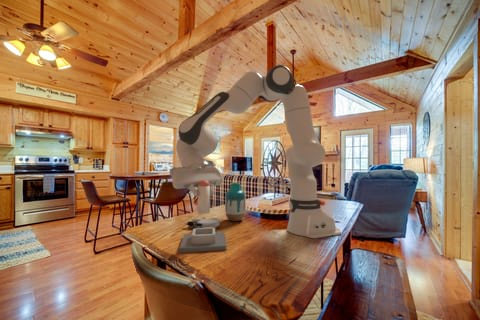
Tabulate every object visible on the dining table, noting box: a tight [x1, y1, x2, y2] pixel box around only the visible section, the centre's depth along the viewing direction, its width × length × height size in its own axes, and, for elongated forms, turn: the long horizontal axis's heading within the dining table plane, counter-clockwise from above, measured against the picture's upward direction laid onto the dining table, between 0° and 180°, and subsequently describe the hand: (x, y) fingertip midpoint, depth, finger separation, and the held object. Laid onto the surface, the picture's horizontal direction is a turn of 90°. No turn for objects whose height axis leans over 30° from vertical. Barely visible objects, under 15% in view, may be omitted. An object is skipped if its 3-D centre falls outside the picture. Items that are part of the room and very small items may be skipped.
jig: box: [178, 227, 227, 254], centre depth 79 cm, size 16×14×4 cm
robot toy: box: [184, 216, 224, 229], centre depth 96 cm, size 12×4×15 cm
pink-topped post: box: [197, 180, 211, 215], centre depth 79 cm, size 4×4×12 cm
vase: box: [224, 182, 247, 222], centre depth 108 cm, size 11×11×19 cm
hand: (204, 194), depth 78 cm, fingers closed on pink-topped post, 4 cm apart
